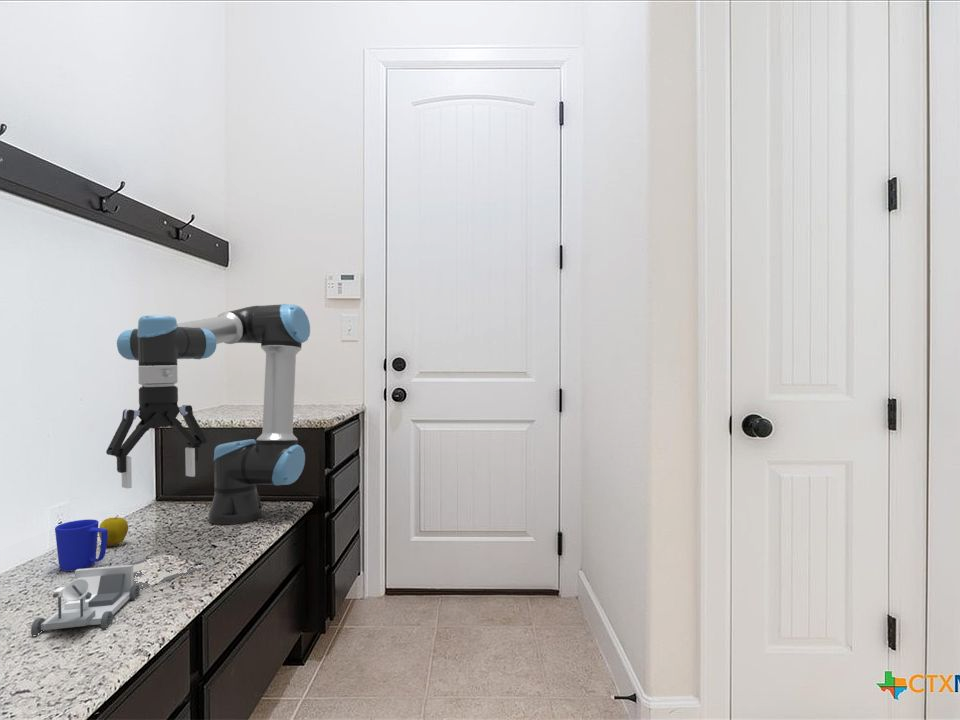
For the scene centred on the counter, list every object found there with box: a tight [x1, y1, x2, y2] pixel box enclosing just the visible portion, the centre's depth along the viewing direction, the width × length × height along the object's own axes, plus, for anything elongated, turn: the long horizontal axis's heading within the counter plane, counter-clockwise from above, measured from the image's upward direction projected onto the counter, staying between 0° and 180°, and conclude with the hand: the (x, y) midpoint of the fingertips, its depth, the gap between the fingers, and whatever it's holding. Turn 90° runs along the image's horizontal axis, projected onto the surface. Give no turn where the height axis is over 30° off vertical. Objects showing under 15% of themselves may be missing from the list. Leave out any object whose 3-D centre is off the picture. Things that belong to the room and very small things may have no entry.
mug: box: [54, 518, 108, 572], centre depth 130 cm, size 8×12×10 cm
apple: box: [98, 515, 129, 547], centre depth 146 cm, size 6×6×8 cm
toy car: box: [30, 564, 141, 636], centre depth 104 cm, size 18×10×12 cm
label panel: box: [126, 559, 208, 590], centre depth 127 cm, size 16×18×1 cm
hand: (160, 481), depth 124 cm, fingers open, 13 cm apart
